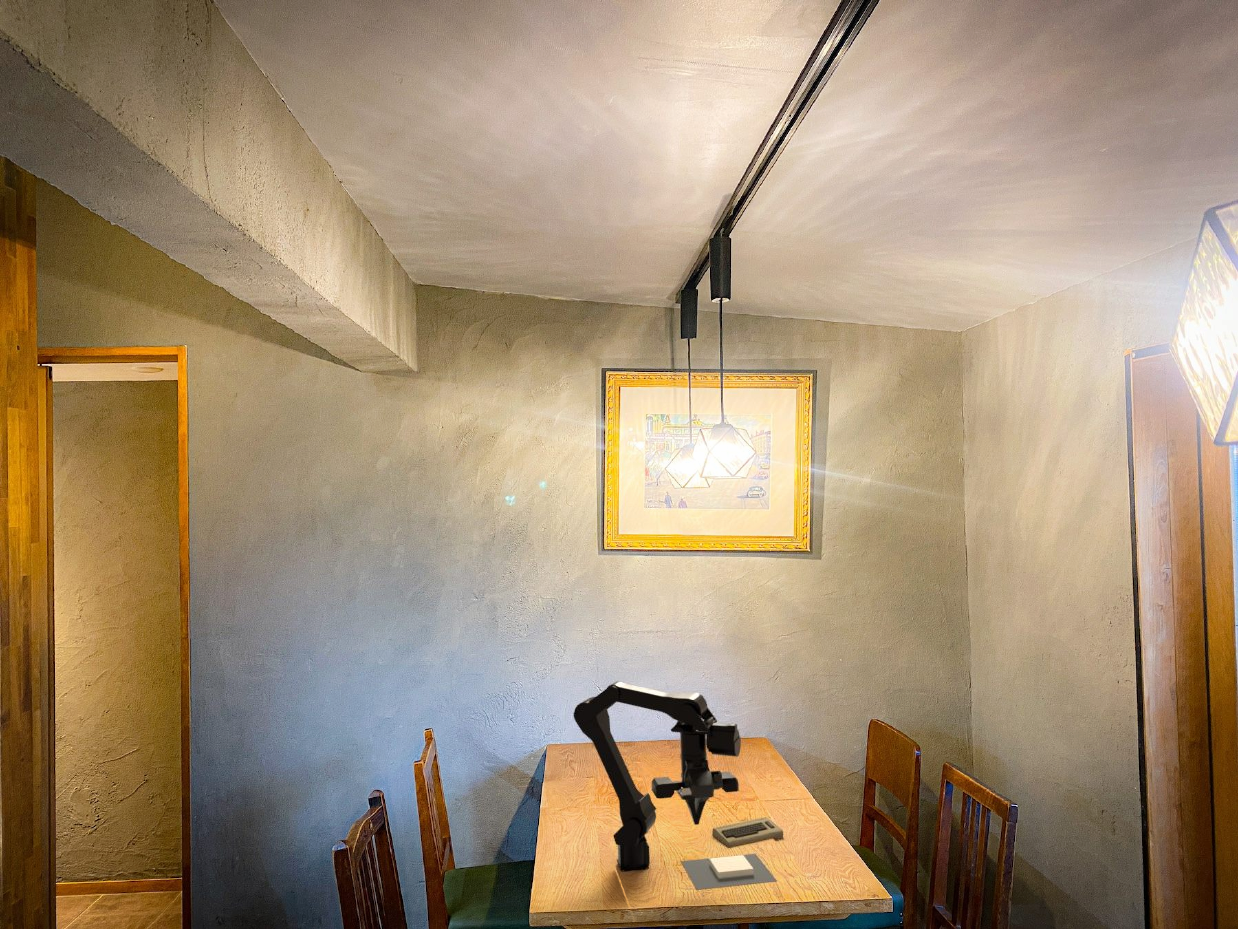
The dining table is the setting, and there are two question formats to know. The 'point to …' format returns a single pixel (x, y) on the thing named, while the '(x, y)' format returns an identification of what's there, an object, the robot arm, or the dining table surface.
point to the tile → (731, 867)
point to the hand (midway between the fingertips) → (696, 824)
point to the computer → (747, 832)
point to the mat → (707, 879)
